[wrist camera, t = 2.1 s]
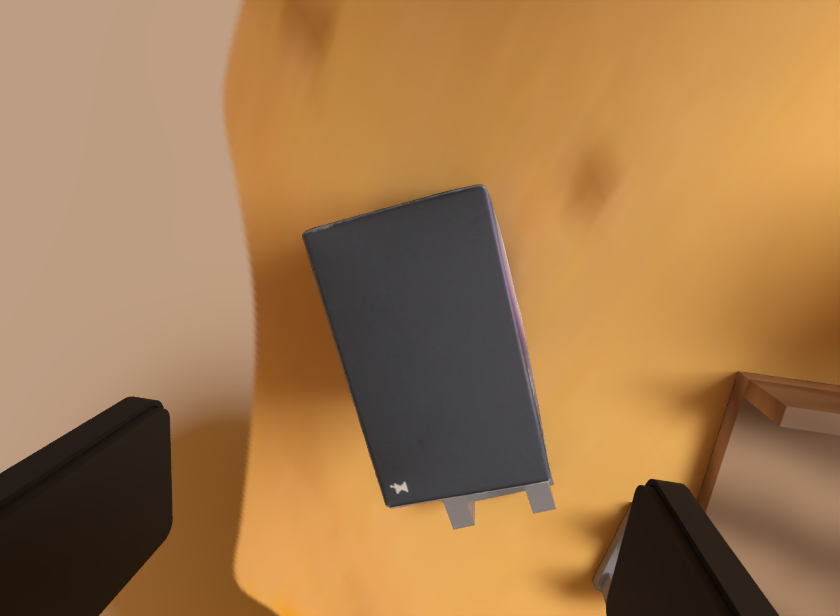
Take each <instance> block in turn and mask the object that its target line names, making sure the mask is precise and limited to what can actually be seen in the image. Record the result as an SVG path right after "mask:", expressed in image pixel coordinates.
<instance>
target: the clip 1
mask: <svg viewBox="0 0 840 616" xmlns="http://www.w3.org/2000/svg"><path fill="white" fill-rule="evenodd" d="M550 477H551V479H550V481H549V482H547V483H542V484H536V485H530V486H524V487H519V488H512V489H507V490H500V491H495V492H488V493H481V494H476V495H469V496H463V497H457V498H450V499H446V500H443V502H444V505H445V508H446V510H447V513H448V516H449V519H450V521H451V524H452V527H453V529H458V528H463V527H468V526H473V525H475V501H479V500H484V499H488V498H493V497H498V496H503V495H508V494H512V493H517V492H522V491H526V493H527V496H528V499H529V502H530V505H531V508H532V511H533V513H538V512H543V511H548V510H553V509H556V507H555V503H554V499H553V495H552V491H551V487H550V485H554V483H553V479H552V476H551V472H550Z"/></svg>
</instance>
